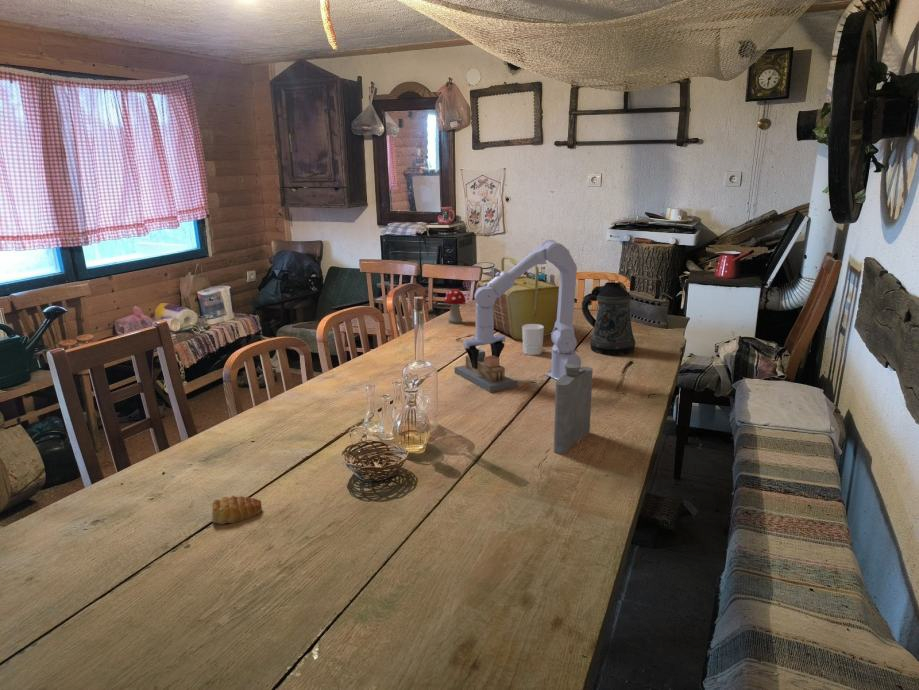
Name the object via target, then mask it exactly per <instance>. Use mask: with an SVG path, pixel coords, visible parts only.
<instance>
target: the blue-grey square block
mask: <svg viewBox="0 0 919 690" xmlns="http://www.w3.org/2000/svg"><path fill="white" fill-rule="evenodd" d="M477 349H478V350H479V353H478V360H482V359H484V357H486V351H484V350H483V349H480V348H477Z"/></svg>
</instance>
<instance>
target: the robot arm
mask: <svg viewBox="0 0 919 690" xmlns="http://www.w3.org/2000/svg"><path fill="white" fill-rule="evenodd" d="M547 261H548V263H551V264H552V265H553V266H554V267H555V268H556V269H557V270H558V271H559V283H558V284H559V285H558V286H559V295H558V309H557V320H556V322H555V326H554V330H553V331H552V333H551V334H550V339H551V342H552V343H553V346H552V348H551V365H550V366H551V368H550V369H551V372H546V373H545V376H547V377H550V378H552V379H554V380H556V381H558V380H559V379H560V378H561V377H562V376H564V375H565V374H566V369H565V365H566V364H570V363H573V364H578V365H580V367H582V360H581V357H580V356H579V354H577V353H576V351H575V349H576V346H577V344H578V342H577V339H576V335H575V327H574V322H573V321H574V309H575V299H576V298H575V297H576V282H577V272H578V271H577V270H578V267H577V264H576V263H575V261H574V258H573V257H572V255H571V253H570V250H569V249H568V248H567V247H565V246H564V245H563V244H561V243H559V242H557V241H555V240H553V239H549V240H545V241H544V242H543V243H542V244H540V245H538V246H537V247H535V248H534V249H533V250H532V251H530V252H529V253H528V254H527V255H526V256H524V257H523V258H522V259H521V260H520V261H518V262H519V263H518V264H517V265H514V266H513V267H512V268H510V269H509V270H508V271H505V270H504V271H502V272H501V271H500V272H499V271H497V272H496V273H495V276H494V277H493V278H491V279H492V280H491V281H489V282H488V283H484V286H485V287H480V288H478V289H477V288H476V290H475V292H474V295H473V298H474V300H475V302H476V303H475V311H474V312H475V337H474V338H471V339H468V340H464V341H463V348H464V349H465V352H466V353H467V356H469V358H470V361H471V364H472V368H474V369H477V367H478V353H479V350H478V349H479V348H477V347H479V346H485V345H486V346H487V345H490V349H491V356H492V355H494V356H496V357H498V358H499V359H500V356H501V353H502V352H503V350H504V348H505V343H504V342H506V335H503V334H498V335H494V334H495V333H494V331H495V330H494V329H495V328H494V311H493V304H494V303H495V299H496V298H499V297H500V296H501V295H502V294H504V293H505V292H506V291H507V290H509V289H510V288H511V287H513V286H514V281H515V279H516V278H518V277H519V276H523V275H524V274H525V273H527V272H528V271H529V270H530V269H532V268H533V267H534V266H535V265H537V266H538V265H547V264H548V263H547ZM497 294H498V295H497Z"/></svg>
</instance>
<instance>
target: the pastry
mask: <svg viewBox="0 0 919 690" xmlns="http://www.w3.org/2000/svg"><path fill="white" fill-rule="evenodd" d="M211 506H212V517H211V518H212V519H211V522H212V523H215V524H218V525H225V524H229V523H230V524H234V523H237V522H241V521H244V520H247V519H251V518H253V517H255V516H257V515H258V514H260V512H262V510H263V507H262V501H261V500H259V499H257V498H253V497H250V496H245V497H244V496H243V495H241V496H235V495H231V496H230V497H227V496H223V497H221V498H220V499H213V501H212V504H211Z"/></svg>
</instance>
